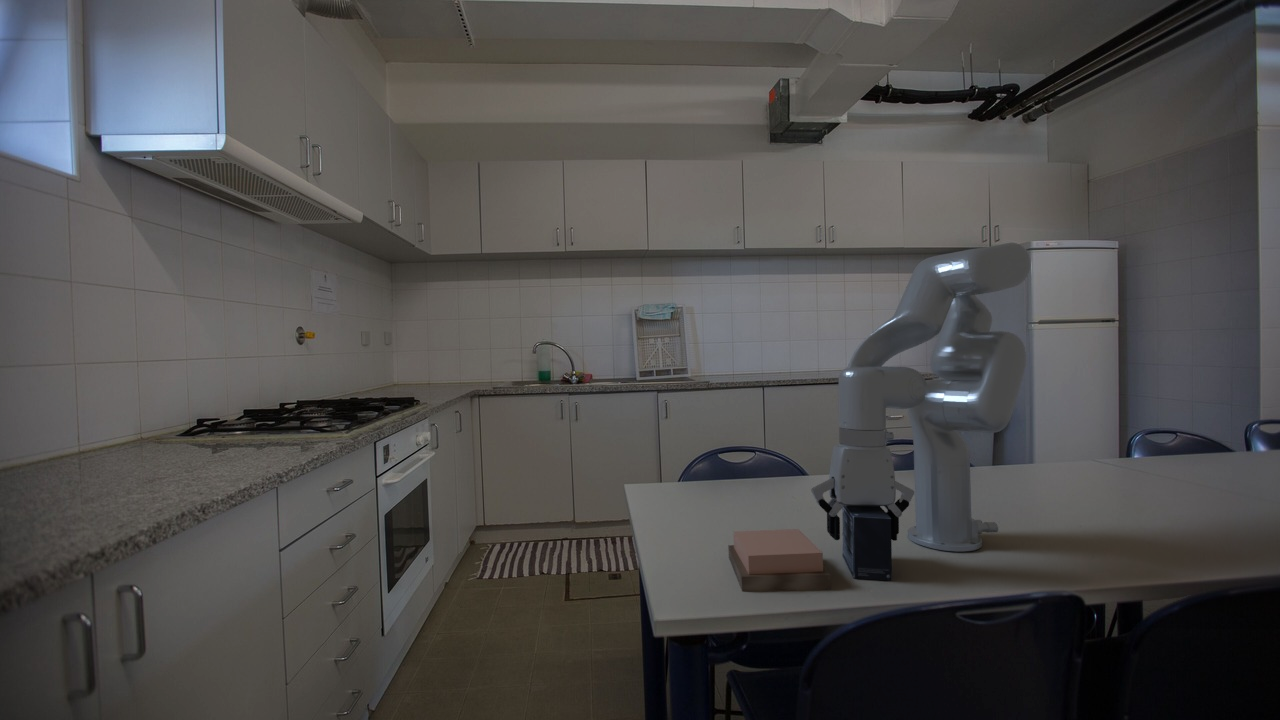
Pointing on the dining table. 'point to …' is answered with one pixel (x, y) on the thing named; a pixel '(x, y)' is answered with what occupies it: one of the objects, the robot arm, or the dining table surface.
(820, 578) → the walnut slab
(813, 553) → the terracotta slab
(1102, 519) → the dining table surface
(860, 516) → the small box
